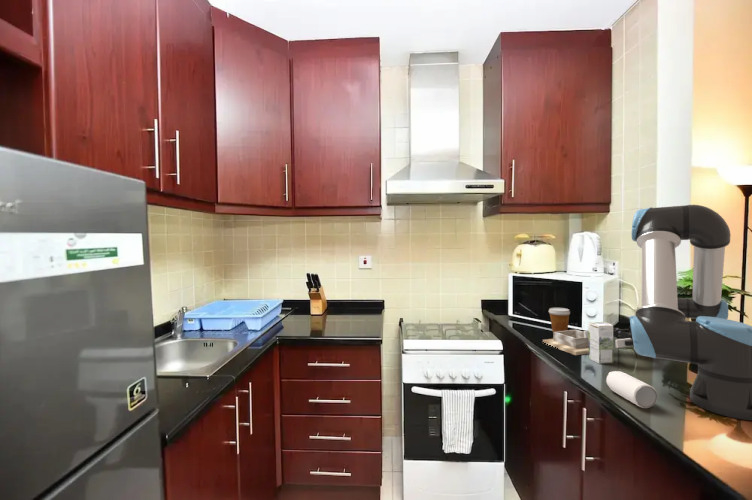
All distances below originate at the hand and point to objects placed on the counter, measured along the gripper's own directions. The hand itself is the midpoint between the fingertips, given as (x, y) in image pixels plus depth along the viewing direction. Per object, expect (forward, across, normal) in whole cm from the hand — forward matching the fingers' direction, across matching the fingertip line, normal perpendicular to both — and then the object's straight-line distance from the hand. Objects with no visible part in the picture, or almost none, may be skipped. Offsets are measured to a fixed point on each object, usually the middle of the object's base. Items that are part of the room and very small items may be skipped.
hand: (599, 338), depth 127 cm
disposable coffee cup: (-16, +37, -9) cm, 41 cm away
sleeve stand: (-6, +17, -8) cm, 20 cm away
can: (+20, -33, -5) cm, 39 cm away
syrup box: (0, 0, -9) cm, 9 cm away
